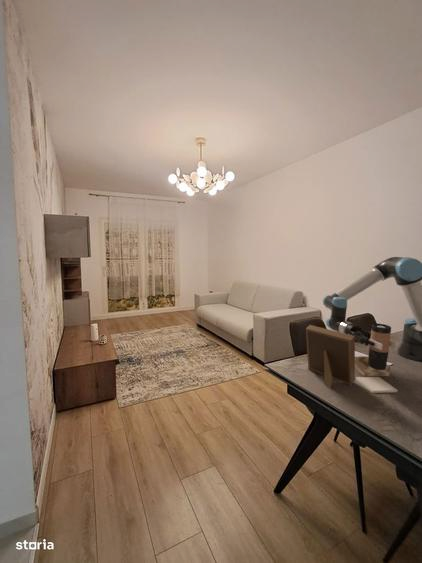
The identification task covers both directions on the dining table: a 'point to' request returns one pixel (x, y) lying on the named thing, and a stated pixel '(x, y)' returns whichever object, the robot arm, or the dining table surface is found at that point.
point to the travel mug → (376, 355)
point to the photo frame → (331, 354)
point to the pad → (376, 384)
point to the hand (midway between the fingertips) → (389, 346)
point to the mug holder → (367, 370)
